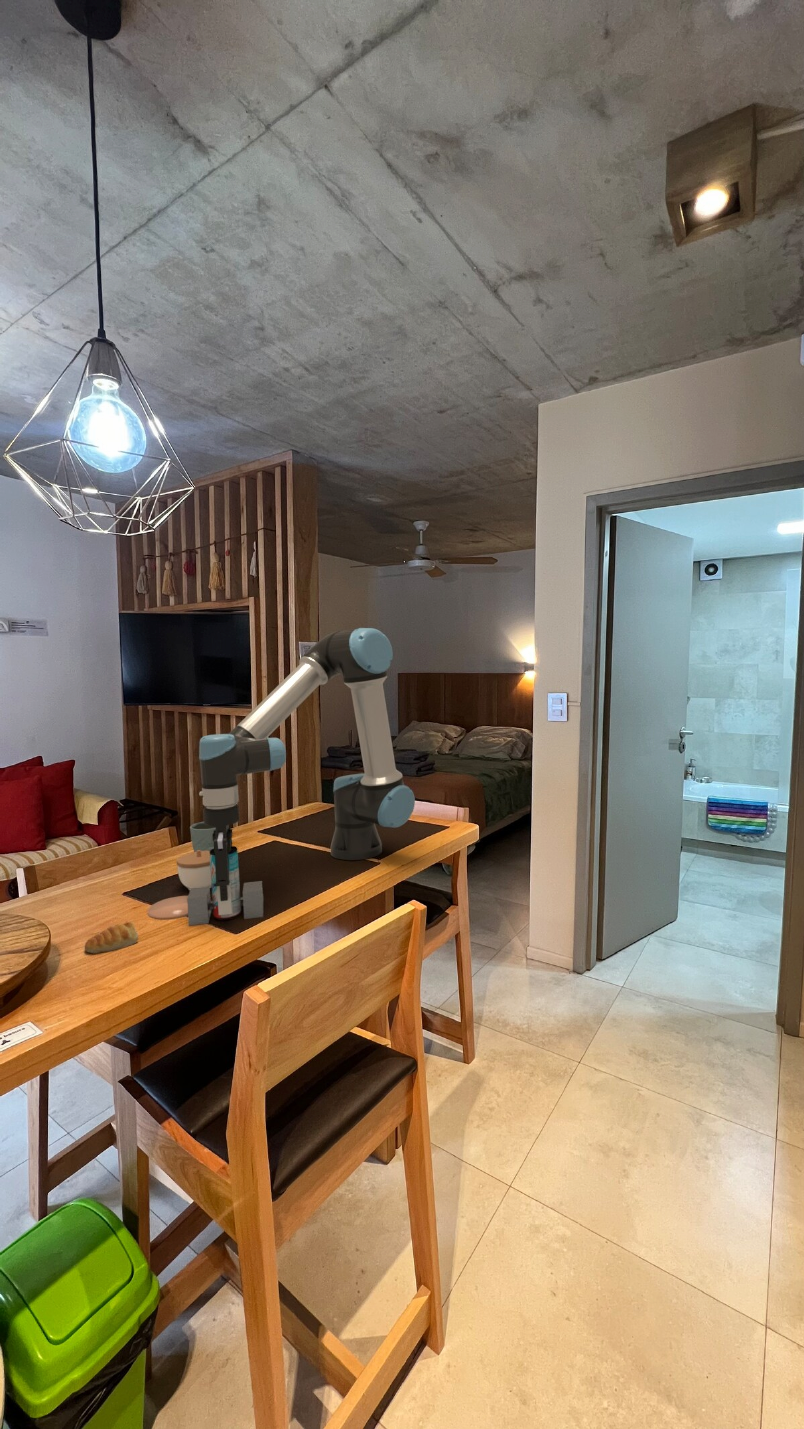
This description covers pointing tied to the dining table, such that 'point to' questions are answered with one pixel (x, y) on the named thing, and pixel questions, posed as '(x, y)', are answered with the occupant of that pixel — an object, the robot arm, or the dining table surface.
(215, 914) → the beverage can
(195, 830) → the green plant pot
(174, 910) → the coaster
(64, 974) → the dining table surface
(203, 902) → the dumbbell
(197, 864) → the lidded jar
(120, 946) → the pastry
